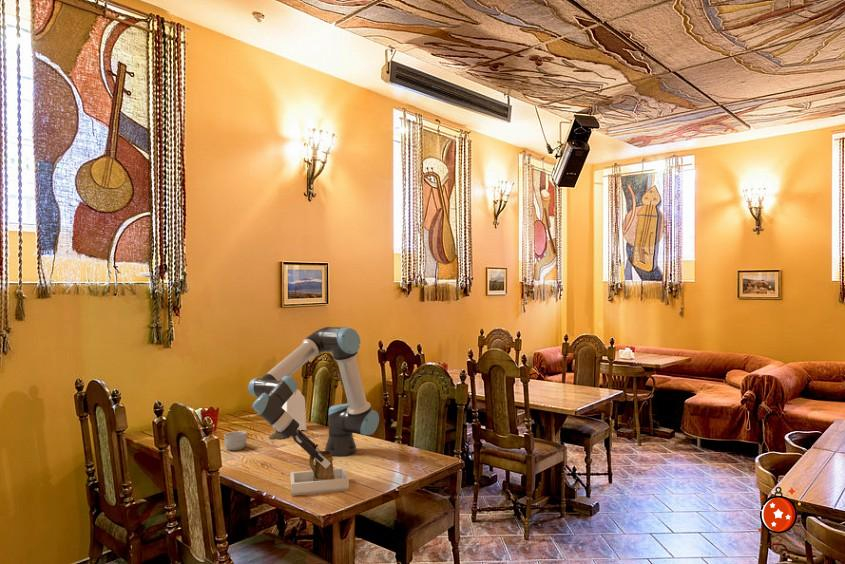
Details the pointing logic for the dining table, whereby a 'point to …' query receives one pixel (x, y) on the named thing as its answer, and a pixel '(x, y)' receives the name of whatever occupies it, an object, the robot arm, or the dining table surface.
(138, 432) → the dining table surface
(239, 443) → the teacup
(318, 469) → the wooden mug
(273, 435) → the candlestick holder
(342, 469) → the tray
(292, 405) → the milk
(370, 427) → the robot arm
